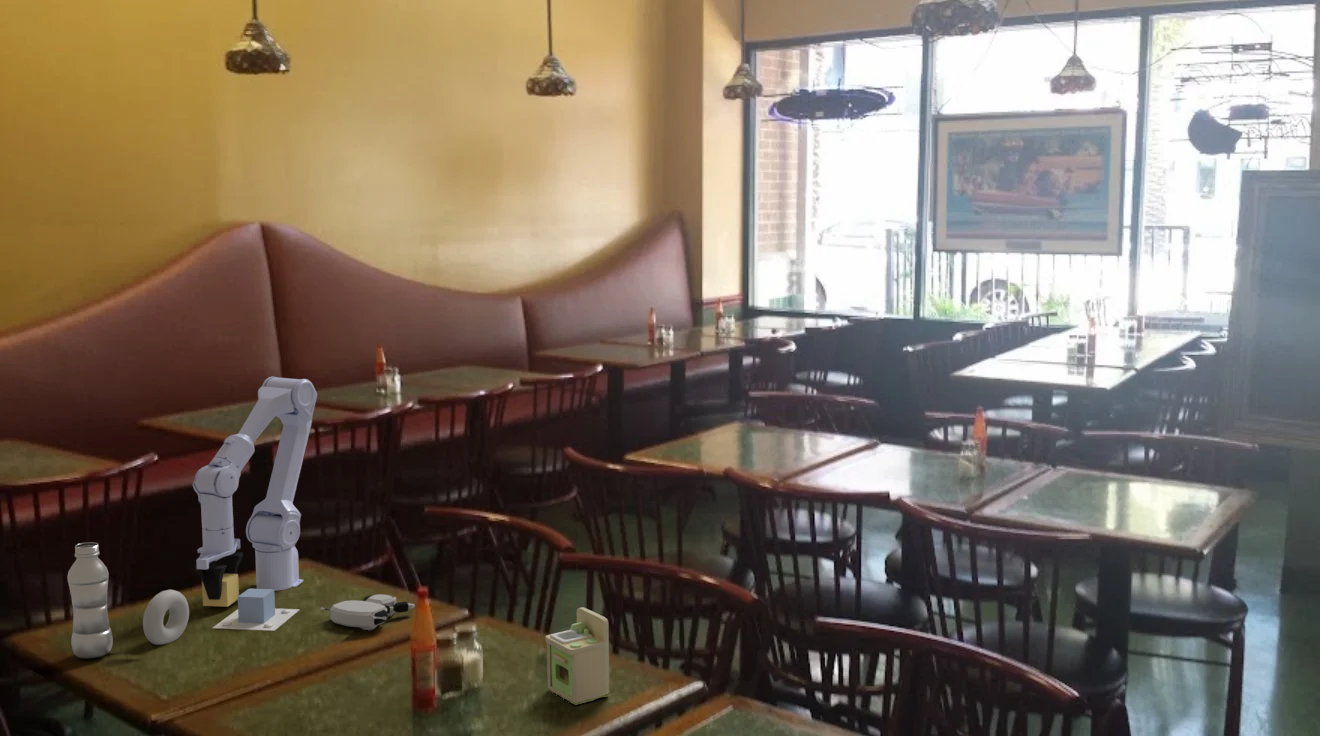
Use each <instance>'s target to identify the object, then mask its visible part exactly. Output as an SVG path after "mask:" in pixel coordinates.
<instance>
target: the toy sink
mask: <svg viewBox="0 0 1320 736" xmlns="http://www.w3.org/2000/svg"><path fill="white" fill-rule="evenodd" d="M609 633H610V632H609V620H608V618H606V617H605V616H604V615H600V613H598V612H595V611H593V610H590V609H588V608H586V607H583V606H582V607H579V608H577V609H576V623H572V624H571V625H570V628H569V629H567V630H564V631H559V632H554V633H551V634H547V635H545V637H544V638H545V643H546V654H547V655H546V657H547V658H546V663H547V664H546V665H547V667H546V668H547V670H546V671H547V689H548V688H549V689H551V690H552V691H554V692H556V693H557V694H559V695H561V696H563V697H565V698H567V699H568V700H570V701H572V702H574V703H578V702H581V701H584V700H587V699H591V698H595V697H598V696H602V695H605V694H608V693H609V694H610V641H609V640H610V637H609Z"/></svg>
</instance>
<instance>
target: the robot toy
mask: <svg viewBox="0 0 1320 736" xmlns="http://www.w3.org/2000/svg"><path fill="white" fill-rule="evenodd" d="M415 607H416V605H415V604H414V603H411V602H407V601H401V602H397V597H396V596H394V597H393V596H392V595H389V594H380V593H379V594H374V595H367V596H365V597H363V599H362V600H352V599H351V600H343V601H340V602H338V603H337V602H336V603H335V604H332V605H331V607H320V610H323V611H329V618H330V620H331V621H332V622H333V623H335V624H338V625H341V626H345V627H351V628H360V629H361V630H363V631H365V630H368V631H372V630H374V629H376V628H377V626H379V625H382V624H384V623H386V621H388V618H389V616H390V617H392V615H393V614H394V613H398V614H400V613H406V612H409V609H410V610H411V609H414V608H415Z"/></svg>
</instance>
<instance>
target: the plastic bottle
mask: <svg viewBox="0 0 1320 736" xmlns="http://www.w3.org/2000/svg"><path fill="white" fill-rule="evenodd" d="M74 550H75V551H74V552H75V553H74V557H75V558H76V559H75V561H74V562H73V563H72V565H71V566H70V568H69V570H68V573H67V583H68V586H69V594H70V596H71V604H72V612H73V613H72V614H73V621H72V635H71V640H70V642H71V644H70V645H71V649H72V652H73V654H74V655H75V656H76V658H79V659H94V658H99V657H103V656H105V655H108V654H109V652H110V651H111V650H112V649H113V643H114V637H113V633H112V628H111V627H110V621H109V614H108V587H109V586H108V585H109V571H108V567H107V566H106V565H105V564H104V562H103V561H102V560H101V559H100V558H99V555H100V549H99V542H81V543H77V544H75V546H74Z"/></svg>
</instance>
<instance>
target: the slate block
mask: <svg viewBox="0 0 1320 736" xmlns="http://www.w3.org/2000/svg"><path fill="white" fill-rule="evenodd" d="M275 601H276V600H275V591H274V589H257V588H248V589H246V590H245V591H244V592H242V593H240V594H239V596H238V600H237V609H238V620H239V622H242V623H265V622H267V621H268V620H269V619H270V618H272V617H273V616H274V615H275V608H276V602H275Z"/></svg>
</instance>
